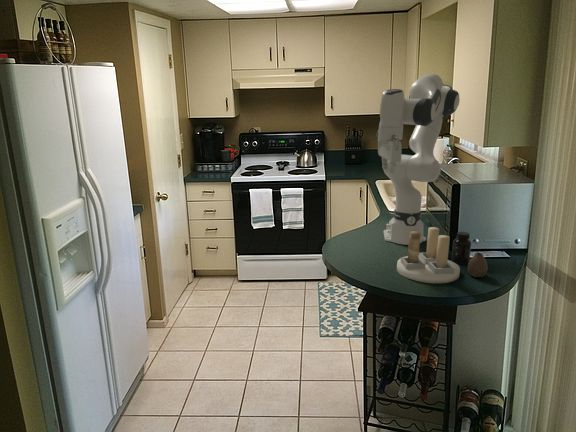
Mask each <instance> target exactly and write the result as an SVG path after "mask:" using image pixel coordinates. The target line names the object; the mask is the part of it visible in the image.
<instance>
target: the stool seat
mask: <svg viewBox="0 0 576 432" xmlns="http://www.w3.org/2000/svg"><path fill="white" fill-rule="evenodd" d="M427 231H428V232H427V239H426V252H419V259H418V263H407V260H408V255H407V256H406V255H405V256H403V257H400V258H399V259H398V260H397V263H396V272H397V273H398V274H400V276H403V278H406V279H410V280H411V281H416V282H420V283H427V284H446V283H447V284H448V283H451V282H454V281H457V280H458V279H459V277H460V273H461V268H460V265H459V264H456V263H454V262H452V260H449V259H448V258H449V252H450V250H449V249H450V242H451V241H450V240H451V239H450V236H449V235H445V234H440V228H438V227H436V226H431V227H428V230H427Z"/></svg>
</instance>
